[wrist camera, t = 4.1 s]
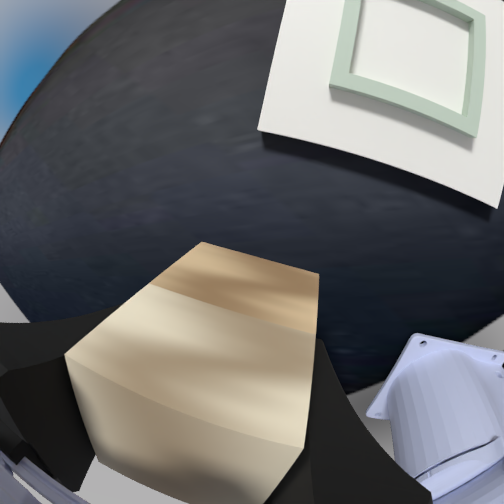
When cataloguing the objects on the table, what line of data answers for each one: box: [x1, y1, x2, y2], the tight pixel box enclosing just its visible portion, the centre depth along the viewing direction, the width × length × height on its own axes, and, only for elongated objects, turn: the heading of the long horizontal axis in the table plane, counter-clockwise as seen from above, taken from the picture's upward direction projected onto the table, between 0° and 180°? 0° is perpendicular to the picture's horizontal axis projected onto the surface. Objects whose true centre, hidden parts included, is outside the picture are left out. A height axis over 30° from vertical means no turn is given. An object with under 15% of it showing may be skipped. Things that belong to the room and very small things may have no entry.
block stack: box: [64, 242, 319, 504], centre depth 9 cm, size 5×5×8 cm
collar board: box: [258, 0, 504, 208], centre depth 11 cm, size 14×14×2 cm
